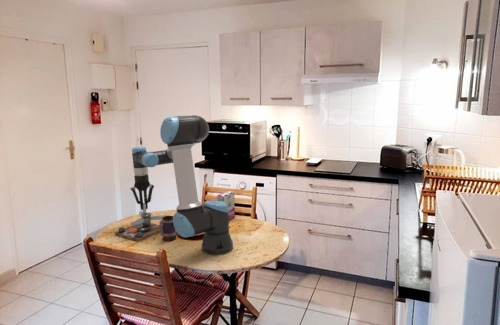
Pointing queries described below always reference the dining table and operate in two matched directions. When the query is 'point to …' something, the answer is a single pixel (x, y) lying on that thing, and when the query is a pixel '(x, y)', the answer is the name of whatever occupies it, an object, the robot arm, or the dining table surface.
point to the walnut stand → (138, 233)
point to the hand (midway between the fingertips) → (144, 214)
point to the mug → (167, 228)
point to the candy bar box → (228, 202)
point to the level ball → (133, 230)
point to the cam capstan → (145, 222)
